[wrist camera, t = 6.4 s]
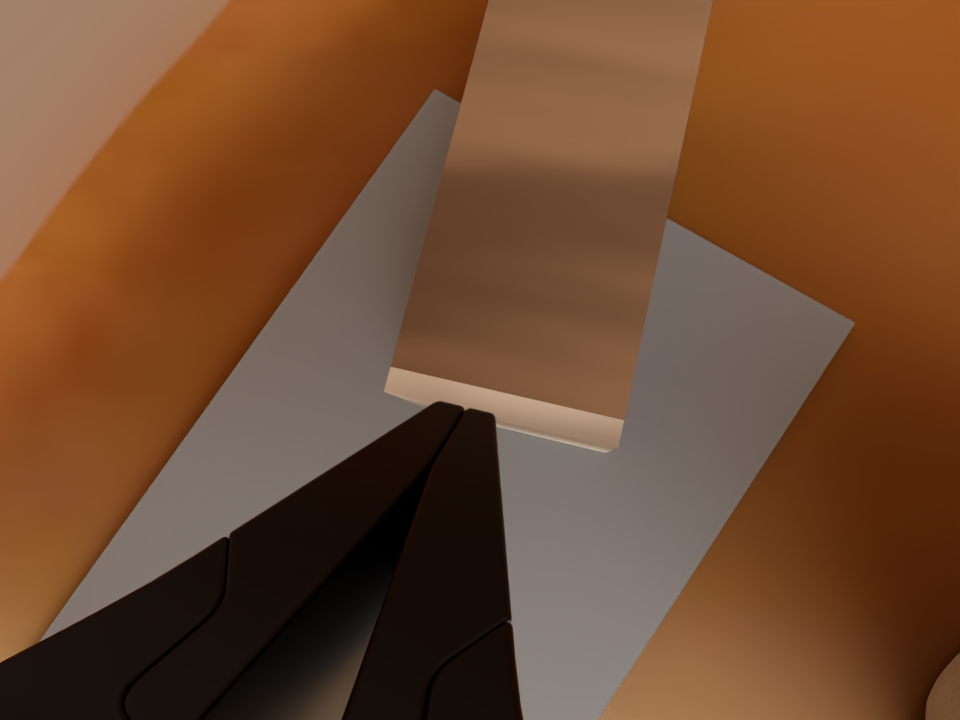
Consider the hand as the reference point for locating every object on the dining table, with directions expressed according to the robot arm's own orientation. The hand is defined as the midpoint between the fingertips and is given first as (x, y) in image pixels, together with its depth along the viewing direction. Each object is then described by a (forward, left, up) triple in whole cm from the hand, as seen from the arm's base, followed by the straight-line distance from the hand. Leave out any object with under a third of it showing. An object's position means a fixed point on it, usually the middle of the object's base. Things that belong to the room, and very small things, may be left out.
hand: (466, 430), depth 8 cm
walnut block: (0, 0, -5) cm, 5 cm away
